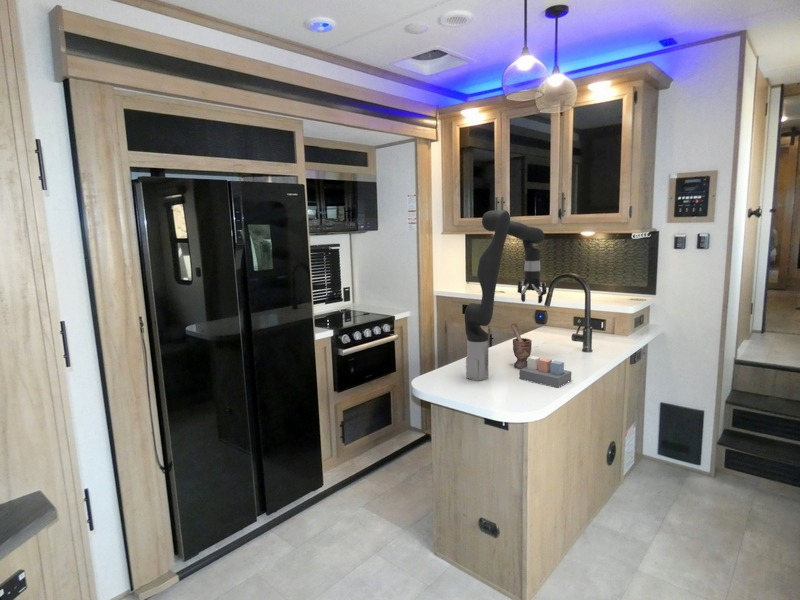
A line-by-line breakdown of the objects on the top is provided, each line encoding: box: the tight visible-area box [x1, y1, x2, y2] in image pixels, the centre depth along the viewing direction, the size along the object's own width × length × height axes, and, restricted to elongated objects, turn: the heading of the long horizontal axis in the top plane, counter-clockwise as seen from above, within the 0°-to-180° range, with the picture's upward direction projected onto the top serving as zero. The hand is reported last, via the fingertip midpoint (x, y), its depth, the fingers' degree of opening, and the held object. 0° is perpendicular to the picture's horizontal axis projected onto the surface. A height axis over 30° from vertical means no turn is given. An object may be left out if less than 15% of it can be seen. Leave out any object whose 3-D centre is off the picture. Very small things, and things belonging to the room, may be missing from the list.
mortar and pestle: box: [510, 322, 533, 369], centre depth 226 cm, size 12×9×20 cm
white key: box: [527, 355, 541, 370], centre depth 210 cm, size 4×4×5 cm
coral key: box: [539, 357, 553, 373], centre depth 207 cm, size 4×4×5 cm
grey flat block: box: [519, 367, 572, 388], centre depth 207 cm, size 12×18×4 cm, turn 45°
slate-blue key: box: [550, 360, 565, 376], centre depth 203 cm, size 4×4×5 cm
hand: (531, 302), depth 237 cm, fingers open, 8 cm apart
